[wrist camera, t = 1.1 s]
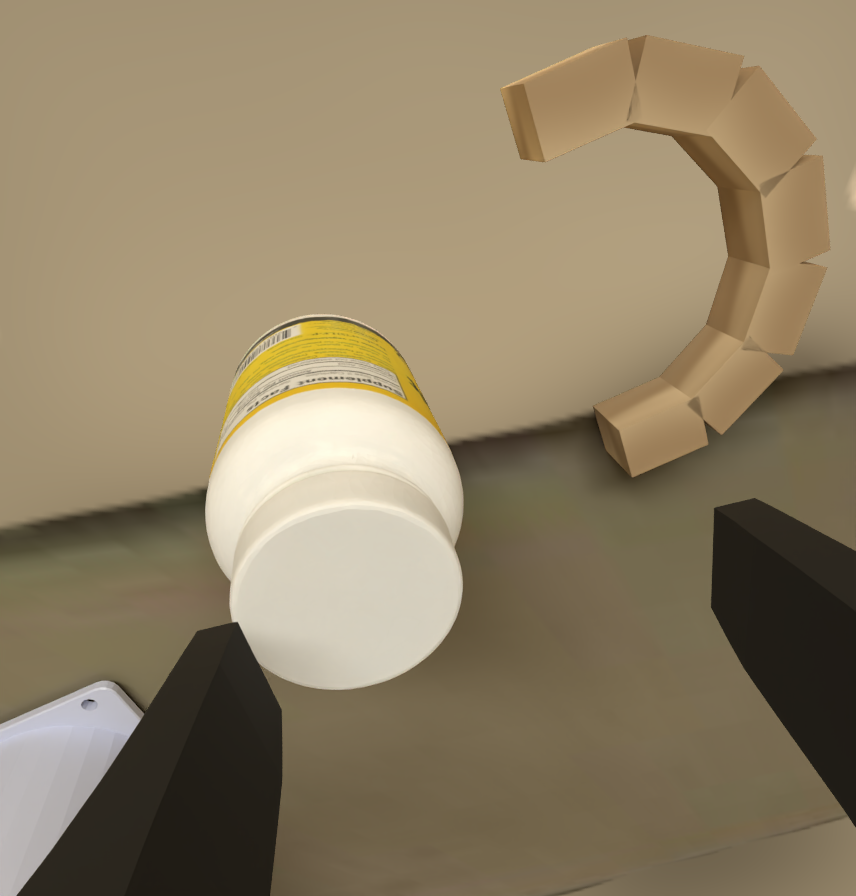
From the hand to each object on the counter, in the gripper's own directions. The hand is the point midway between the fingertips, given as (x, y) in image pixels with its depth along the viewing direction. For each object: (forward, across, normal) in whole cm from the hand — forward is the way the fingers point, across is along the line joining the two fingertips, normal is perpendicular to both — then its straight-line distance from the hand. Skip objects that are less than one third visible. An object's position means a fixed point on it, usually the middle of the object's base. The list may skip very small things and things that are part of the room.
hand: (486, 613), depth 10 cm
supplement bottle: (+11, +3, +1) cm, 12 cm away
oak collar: (+12, -8, -1) cm, 14 cm away
